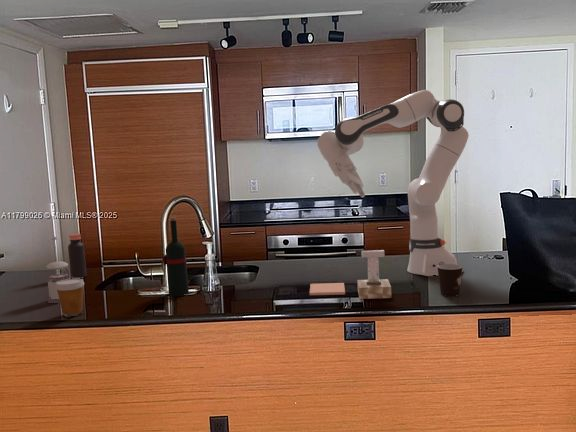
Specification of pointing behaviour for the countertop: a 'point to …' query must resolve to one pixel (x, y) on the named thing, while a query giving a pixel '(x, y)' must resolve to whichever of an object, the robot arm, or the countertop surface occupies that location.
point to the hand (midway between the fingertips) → (359, 194)
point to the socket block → (374, 289)
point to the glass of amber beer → (70, 295)
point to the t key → (373, 265)
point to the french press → (56, 275)
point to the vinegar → (77, 256)
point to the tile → (327, 289)
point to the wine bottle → (176, 264)
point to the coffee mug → (450, 279)
